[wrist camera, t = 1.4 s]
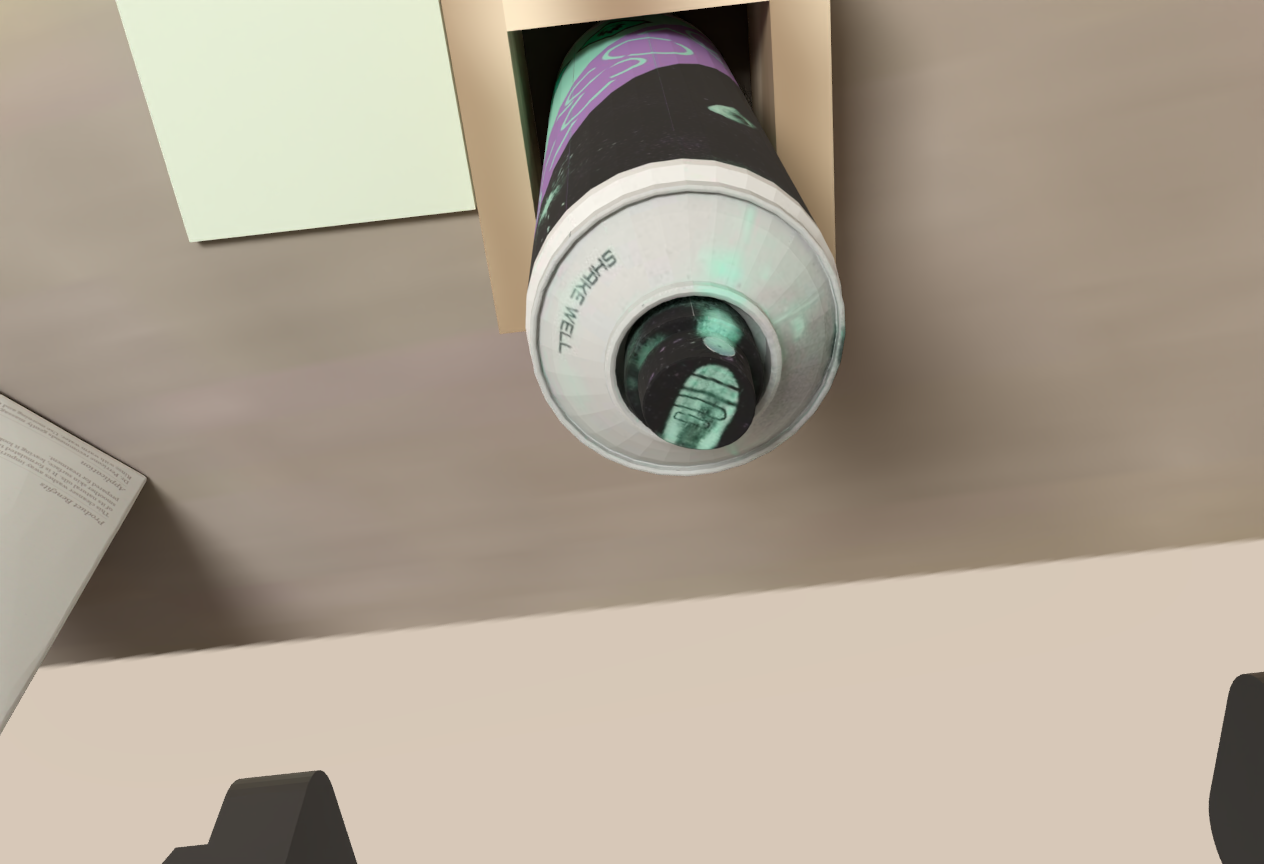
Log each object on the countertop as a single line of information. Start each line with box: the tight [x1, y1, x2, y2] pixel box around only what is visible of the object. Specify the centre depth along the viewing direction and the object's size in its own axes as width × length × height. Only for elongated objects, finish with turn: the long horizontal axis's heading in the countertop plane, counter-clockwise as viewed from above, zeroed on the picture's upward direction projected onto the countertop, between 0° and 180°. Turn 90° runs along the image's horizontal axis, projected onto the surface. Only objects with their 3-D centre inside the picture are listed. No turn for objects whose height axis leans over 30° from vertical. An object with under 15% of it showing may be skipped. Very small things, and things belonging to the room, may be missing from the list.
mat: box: [116, 0, 477, 242], centre depth 33 cm, size 9×9×1 cm
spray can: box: [526, 13, 845, 476], centre depth 26 cm, size 6×6×20 cm
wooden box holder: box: [441, 0, 836, 334], centre depth 32 cm, size 10×10×5 cm
